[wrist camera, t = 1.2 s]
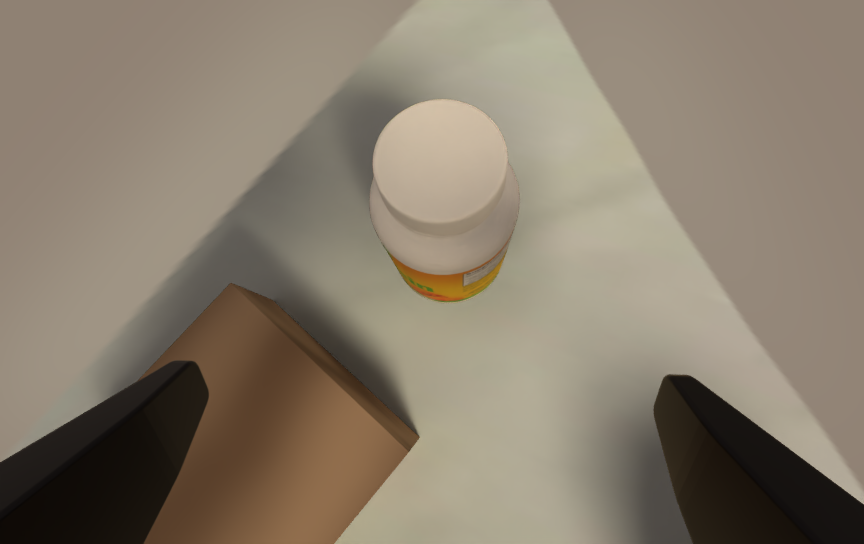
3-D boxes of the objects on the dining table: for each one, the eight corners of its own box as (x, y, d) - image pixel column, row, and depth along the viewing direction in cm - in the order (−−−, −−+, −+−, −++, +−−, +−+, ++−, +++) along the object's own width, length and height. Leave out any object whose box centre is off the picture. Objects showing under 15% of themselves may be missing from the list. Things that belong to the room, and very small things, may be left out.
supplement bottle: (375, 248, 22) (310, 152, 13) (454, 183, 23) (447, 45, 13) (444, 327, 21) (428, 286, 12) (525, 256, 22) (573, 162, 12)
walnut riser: (419, 437, 20) (408, 451, 16) (266, 624, 18) (214, 689, 15) (272, 299, 22) (231, 282, 18) (124, 458, 21) (45, 477, 17)
